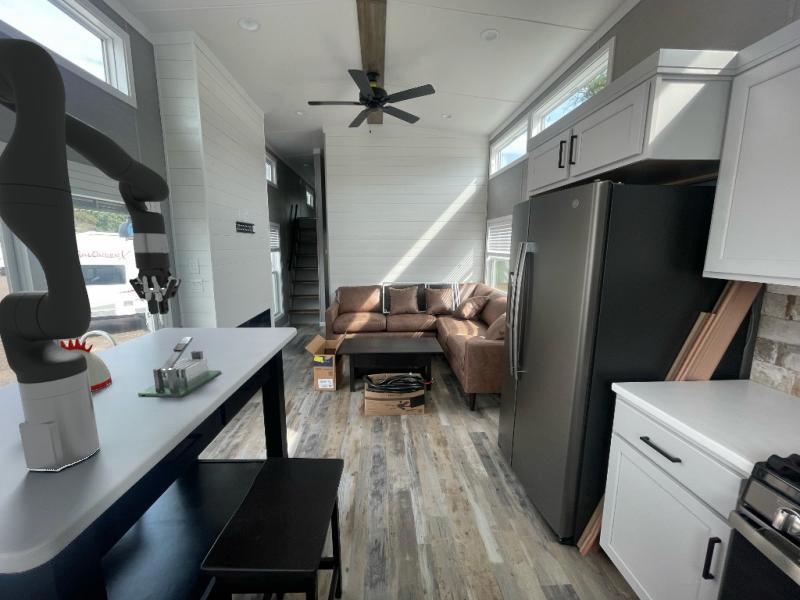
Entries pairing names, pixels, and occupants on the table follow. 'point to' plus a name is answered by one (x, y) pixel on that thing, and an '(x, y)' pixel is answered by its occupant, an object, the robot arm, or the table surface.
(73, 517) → the table surface
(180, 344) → the silver flat bar
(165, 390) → the heatsink
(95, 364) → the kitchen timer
